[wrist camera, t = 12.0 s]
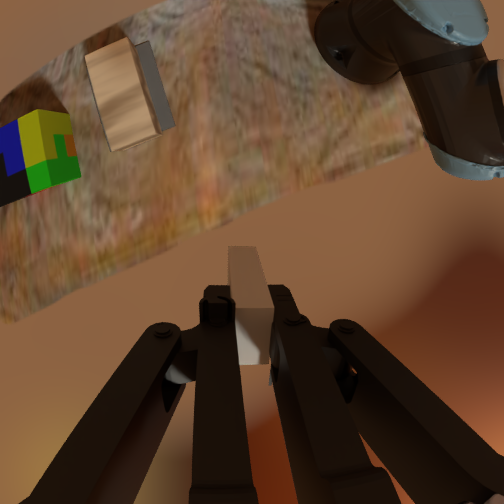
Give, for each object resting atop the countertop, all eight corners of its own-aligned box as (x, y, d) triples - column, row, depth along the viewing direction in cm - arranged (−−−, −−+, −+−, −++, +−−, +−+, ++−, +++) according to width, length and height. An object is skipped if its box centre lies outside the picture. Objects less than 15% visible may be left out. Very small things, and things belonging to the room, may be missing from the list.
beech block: (155, 133, 35) (126, 36, 30) (111, 151, 35) (84, 56, 30) (162, 134, 40) (136, 49, 35) (123, 150, 40) (99, 65, 35)
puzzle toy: (19, 136, 37) (-17, 138, 27) (69, 114, 37) (37, 108, 28) (31, 195, 40) (-3, 208, 31) (81, 176, 41) (51, 186, 31)
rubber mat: (175, 126, 40) (175, 125, 40) (111, 151, 40) (110, 151, 40) (149, 41, 36) (149, 41, 35) (87, 68, 35) (86, 68, 35)
